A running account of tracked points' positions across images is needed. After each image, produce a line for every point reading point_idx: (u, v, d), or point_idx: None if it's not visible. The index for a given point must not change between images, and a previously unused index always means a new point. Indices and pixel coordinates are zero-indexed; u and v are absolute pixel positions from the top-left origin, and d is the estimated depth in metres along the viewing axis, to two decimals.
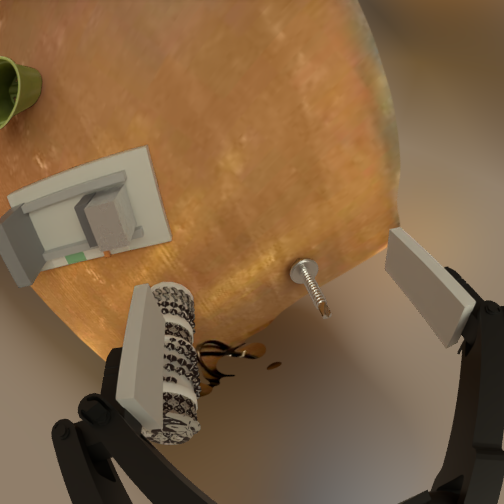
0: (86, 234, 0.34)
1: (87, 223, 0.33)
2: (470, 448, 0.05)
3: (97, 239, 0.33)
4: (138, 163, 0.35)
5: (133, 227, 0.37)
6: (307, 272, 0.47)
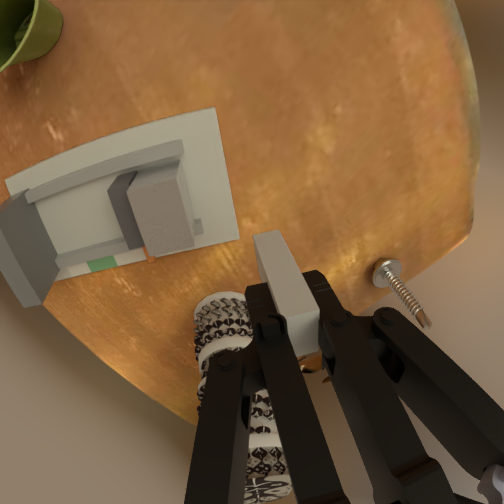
0: (124, 230, 0.25)
1: (127, 215, 0.24)
2: (390, 475, 0.06)
3: (145, 238, 0.23)
4: (202, 130, 0.25)
5: (193, 220, 0.27)
6: (393, 274, 0.37)
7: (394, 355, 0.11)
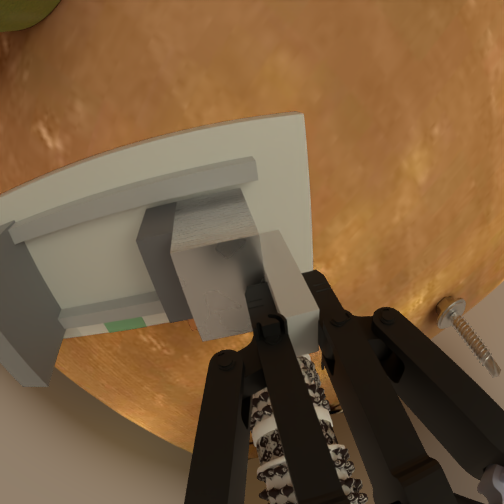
0: (164, 298, 0.17)
1: (169, 277, 0.16)
2: (390, 475, 0.06)
3: (198, 318, 0.15)
4: (283, 146, 0.17)
5: None
6: (460, 316, 0.29)
7: (394, 355, 0.11)
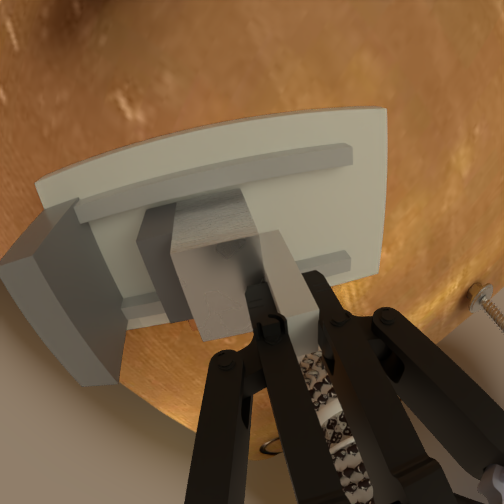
0: (164, 299, 0.17)
1: (169, 278, 0.16)
2: (390, 475, 0.06)
3: (199, 319, 0.15)
4: (369, 136, 0.18)
5: None
6: (489, 300, 0.29)
7: (394, 355, 0.11)
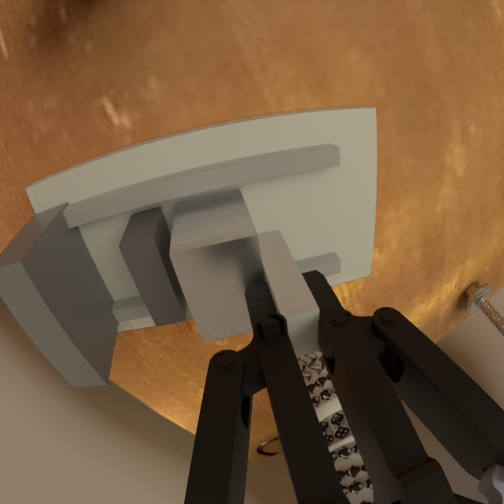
0: (149, 302, 0.17)
1: (153, 282, 0.16)
2: (390, 475, 0.06)
3: (198, 319, 0.15)
4: (358, 136, 0.18)
5: None
6: (486, 301, 0.29)
7: (394, 355, 0.11)
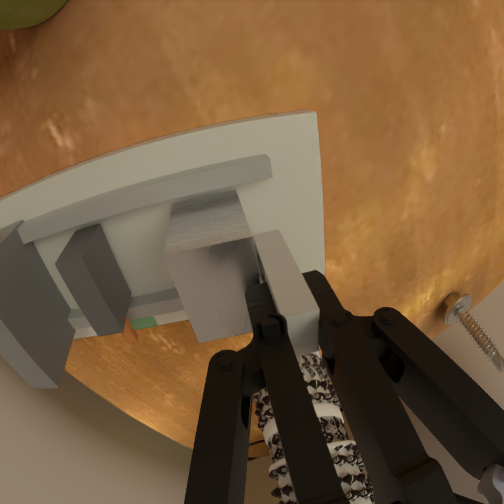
0: (88, 314, 0.16)
1: (88, 296, 0.16)
2: (390, 475, 0.06)
3: (194, 320, 0.15)
4: (296, 144, 0.17)
5: None
6: (466, 312, 0.29)
7: (394, 355, 0.11)
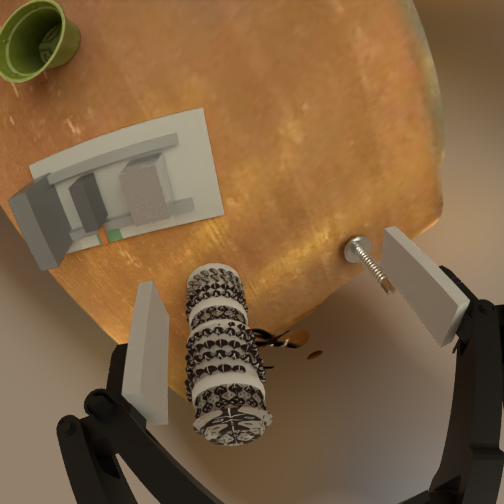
0: (81, 218, 0.30)
1: (83, 206, 0.30)
2: (466, 448, 0.05)
3: (132, 211, 0.29)
4: (193, 125, 0.32)
5: (171, 200, 0.34)
6: (363, 250, 0.43)
7: None
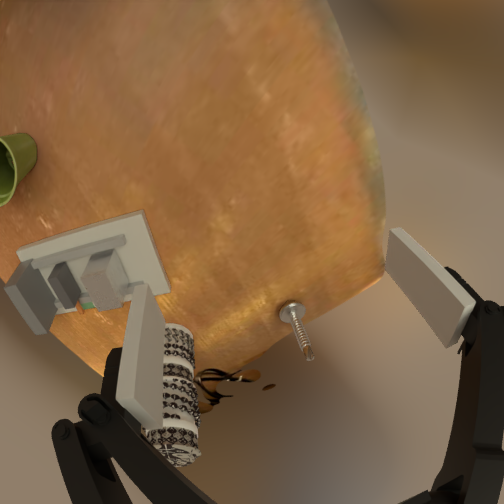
0: (60, 299, 0.38)
1: (60, 292, 0.37)
2: (470, 448, 0.05)
3: (94, 302, 0.37)
4: (136, 228, 0.39)
5: (125, 287, 0.41)
6: (295, 315, 0.51)
7: None
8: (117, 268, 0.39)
